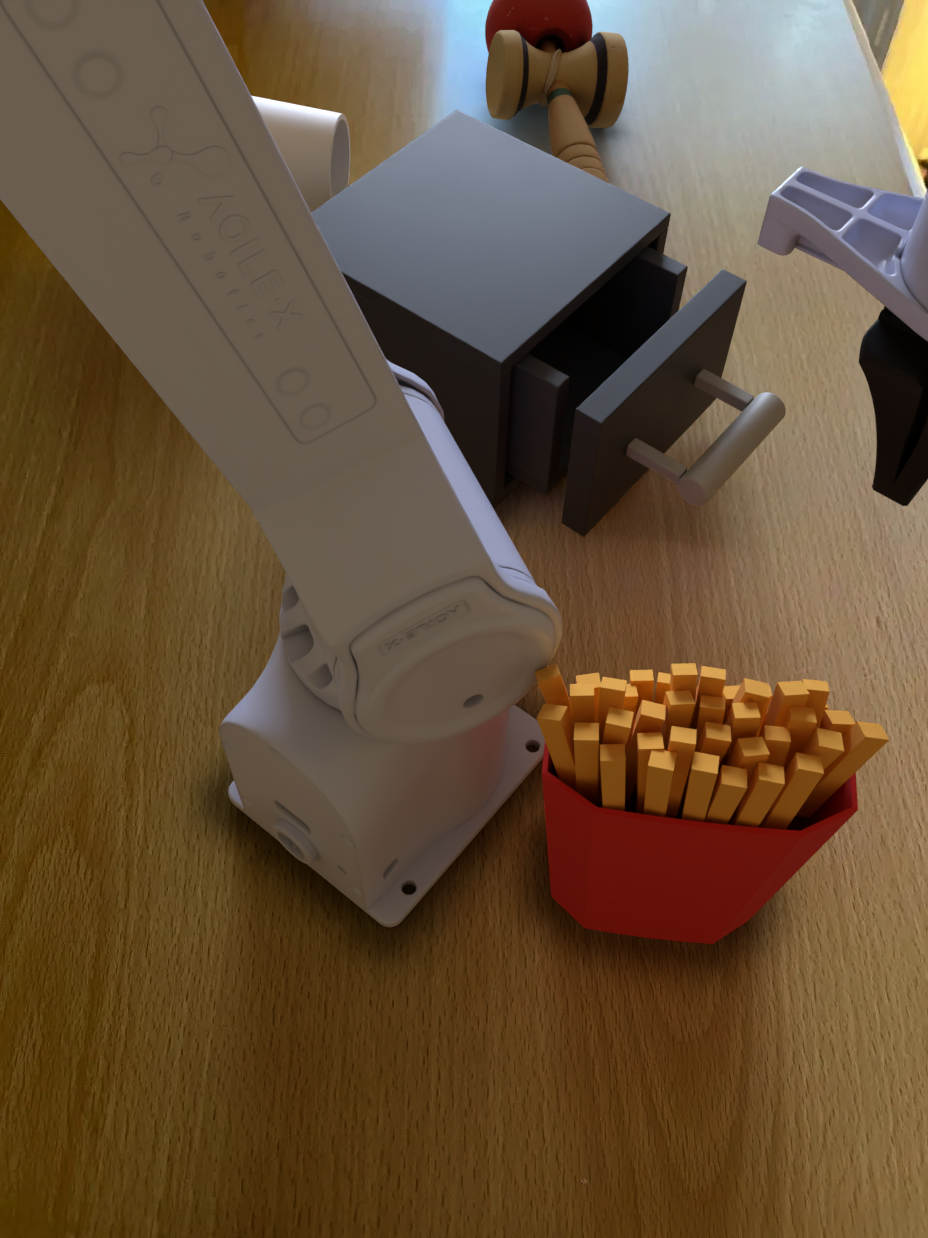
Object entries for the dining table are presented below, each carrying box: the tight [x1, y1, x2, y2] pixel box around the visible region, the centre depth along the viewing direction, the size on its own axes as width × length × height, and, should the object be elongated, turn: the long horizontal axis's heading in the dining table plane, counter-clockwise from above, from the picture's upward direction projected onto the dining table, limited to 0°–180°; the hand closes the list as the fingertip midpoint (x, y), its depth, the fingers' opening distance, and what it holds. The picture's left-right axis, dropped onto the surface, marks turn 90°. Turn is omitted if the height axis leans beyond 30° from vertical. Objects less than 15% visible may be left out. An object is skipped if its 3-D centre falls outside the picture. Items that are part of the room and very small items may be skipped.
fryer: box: [311, 109, 672, 509], centre depth 51 cm, size 11×11×8 cm
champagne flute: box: [251, 95, 351, 212], centre depth 59 cm, size 7×7×24 cm
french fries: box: [535, 662, 890, 945], centre depth 35 cm, size 9×4×13 cm, turn 83°
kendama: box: [484, 0, 630, 184], centre depth 63 cm, size 8×6×18 cm
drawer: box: [505, 246, 787, 538], centre depth 49 cm, size 14×10×7 cm
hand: (900, 481), depth 42 cm, fingers closed
